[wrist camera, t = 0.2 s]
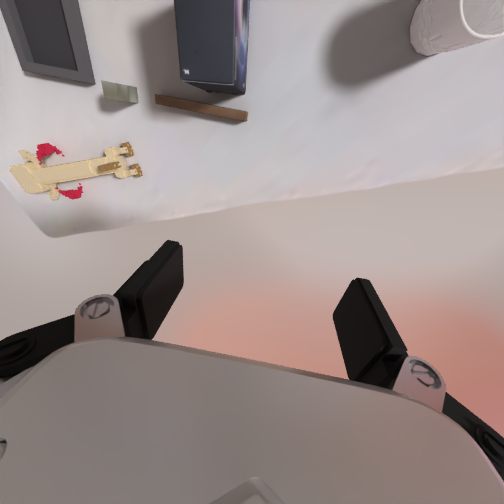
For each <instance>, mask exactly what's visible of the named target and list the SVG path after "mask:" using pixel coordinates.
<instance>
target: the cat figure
mask: <svg viewBox="0 0 504 504" xmlns="http://www.w3.org/2000/svg"><path fill="white" fill-rule="evenodd" d="M121 145H122V148H116V147H111V148H106V151H104V152H105V154H106V157H100V158H95V159H89V160H84V161H78V162H73V163H67V164H61V165H56V166H50V167H46V165H45V164H43V163H42V162H40V161H41V158H43V156H47V155H51V153H53V152H54V150H55V151H56V153H57V154H58V153H62V152H61V151H59V150H57V148H56V146H52V145H50V144H49V143H45V144H40V145H37V146H38V147H37V148H38V150H39V151H36V152H37V153H36V154H37V156H38V157H35V156H34V154H31V153H28V152H27V151H26V150H20V151H19V153H20V155H21V156H22V157H23V159H24V160H25V161H32V162H30V163H25V164H20V165H14V166H10V167H11V168H10V169H11V170H10V172H11V173H12V175H13V176H14V177H15V178H16V180H17V181H18V182H19V184H20V185H21V187H22V188H23V189H24V190H25V192H26V191H27V192H28V193H30V194H33V193H39V192H44V191H47V190H50V189H51V191H48V192H47V194H48V195H49V197H50V198H51V199H52V201H53V200H57V199H58V196H59V192H60V193H62V195H65V197H69V198H70V199H75V198H76V199H77V198H80V197H81V193H83V192H82V188H83V187H82V186H80V187H77V188H78V190H73V189H72V190H68V191H61V190H60V189H59V188H58V187H56V186H57V185H56V184H57V183H58V182H65V181H71V180H77V179H83V178H89V177H94V176H99V175H105V174H111V173H115V175H116V177H119V178H120V179H121V178H126V177H129V175H135V177H140V176H142V173H141V172H142V171H141V168H140V167H139V166H138V164H134V165H131V168H132V169H126V168H127V164H126V162H125V160H124V157H122V155H121V156H120V155H119V154H124V153H125V154H126V156H127V157H128V156H133V155H134V154H133V152H132V151H133V149H132V147H131V146H130V145H129V142H127V143H122V144H121ZM62 156H64V155H62ZM79 185H81V184H80V183H79ZM58 191H59V192H58Z"/></svg>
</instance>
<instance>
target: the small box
mask: <svg viewBox="0 0 504 504" xmlns="http://www.w3.org/2000/svg"><path fill="white" fill-rule="evenodd" d="M174 8H175V19H176V29H177V41H178V53H179V64H180V75H181V80H182V81H183V82H185V83H189V84H191V85H193V86H196V87H198V88H200V89H203V90H206V91H207V92H216V93H217V92H218V93H232V94H245V90H246V71H247V51H248V31H249V9H250V0H174Z"/></svg>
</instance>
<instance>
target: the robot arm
mask: <svg viewBox="0 0 504 504" xmlns="http://www.w3.org/2000/svg"><path fill="white" fill-rule="evenodd" d="M183 283H184V277H183V248H182V245H180V244H179V242H175V241H171V240H167V241H166V242H165V243H164V244H163V245H162V246H161V247H160V248H159V249H158V251H157V252H156V253H155V254H154V255H153V256H152V257H151V258H150V260H147V261H145V262H144V263H143V264H142V265H141V266H140V267H139V268H138V269H137V270H136V271H135V272H134V273H133V275H132V276H131V277H130V278H129V279H128V280H127V281H126V282H125V283H124V284H123V285H122V286H121V287H120V288H119V290H117V292H116V293H115V294H114V295H109V294H102V295H96V296H93V297H90V298H88V299H86V300H85V301H83V302H82V303H81V304H80V305H79V306H78V307H77V308H76V311H75V314H74V315H71V316H68V317H65V318H62V319H59V320H56V321H53V322H50V323H47V324H44V325H40V326H37V327H34V328H31V329H28V330H25V331H22V332H19V333H16V334H14V335H11V336H9V337H6V338H5V339H3V340H1V341H0V504H504V438H503V437H502V436H500V435H499V434H498V433H497V432H496V431H494V429H492V428H491V427H490V426H488V425H487V424H486V423H484V422H483V421H482V420H481V419H479V418H478V417H477V416H476V415H474V414H473V413H472V412H470V411H469V410H468V409H467V408H466V407H464V406H463V405H462V404H460V403H459V402H458V401H457V400H456V399H454V398H453V397H452V396H450V395H449V394H448V393H447V392H446V384H445V382H444V379H443V378H442V376H441V375H440V373H439V372H438V371H437V370H436V369H435V368H434V367H433V366H432V365H430V364H429V363H428V362H426V361H425V360H423V359H421V358H419V357H415V356H408V354H407V352H406V351H407V348H406V346H405V344H404V343H403V341H402V339H401V337H400V335H399V334H398V331H397V330H396V328H395V326H394V324H393V322H392V320H391V319H390V317H389V315H388V313H387V311H386V310H385V308H384V306H383V304H382V302H381V300H380V299H379V297H378V295H377V293H376V291H375V289H374V287H373V286H372V284H371V282H370V281H369V280H367V279H362V278H356V279H355V280H352V281H351V283H350V284H349V287H348V288H347V290H346V291H345V293H344V295H343V297H342V299H341V300H340V302H339V304H338V305H337V307H336V309H335V311H334V313H333V320H334V324H335V328H336V332H337V336H338V340H339V343H340V347H341V351H342V355H343V359H344V363H345V367H346V370H347V374H348V378H349V380H348V379H343V378H338V377H333V376H329V375H324V374H319V373H314V372H309V371H305V370H300V369H295V368H290V367H285V366H280V365H276V364H271V363H266V362H261V361H256V360H251V359H246V358H241V357H236V356H231V355H226V354H221V353H216V352H210V351H206V350H201V349H196V348H191V347H186V346H180V345H175V344H170V343H164V342H158V341H153V340H152V339H153V337H154V336H155V334H156V332H157V330H158V329H159V327H160V325H161V323H162V322H163V320H164V318H165V317H166V315H167V313H168V312H169V310H170V308H171V306H172V305H173V303H174V301H175V299H176V298H177V296H178V294H179V293H180V291H181V289H182V287H183Z"/></svg>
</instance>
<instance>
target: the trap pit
mask: <svg viewBox="0 0 504 504" xmlns="http://www.w3.org/2000/svg"><path fill="white" fill-rule="evenodd" d="M0 8H1V11H2V14H3V17H4V20H5V22H6V25H7V28H8V31H9V34H10V36H11V39H12V42H13V45H14V48H15V51H16V53H17V56H18V59H19V62H20V65H21V68H22V70H24V71H29V72H34V73H39V74H44V75H50V76H55V77H60V78H65V79H70V80H76V81H81V82H86V83H92V84H95V80H94V75H93V70H92V65H91V61H90V56H89V51H88V46H87V41H86V37H85V32H84V27H83V22H82V18H81V13H80V8H79V3H78V0H0Z"/></svg>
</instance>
